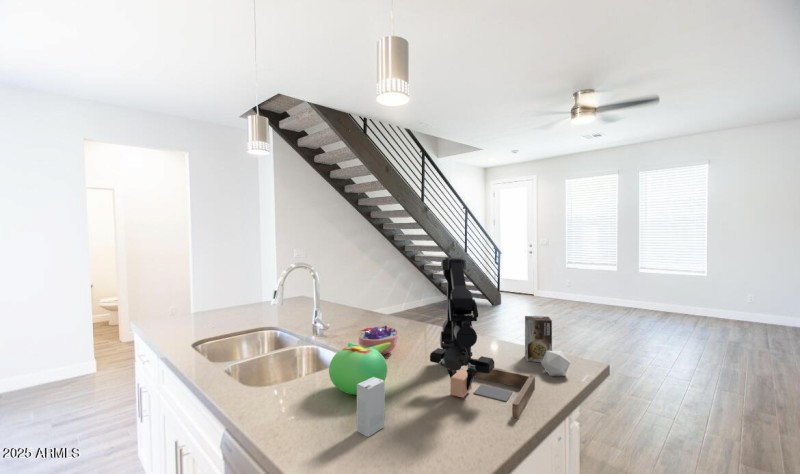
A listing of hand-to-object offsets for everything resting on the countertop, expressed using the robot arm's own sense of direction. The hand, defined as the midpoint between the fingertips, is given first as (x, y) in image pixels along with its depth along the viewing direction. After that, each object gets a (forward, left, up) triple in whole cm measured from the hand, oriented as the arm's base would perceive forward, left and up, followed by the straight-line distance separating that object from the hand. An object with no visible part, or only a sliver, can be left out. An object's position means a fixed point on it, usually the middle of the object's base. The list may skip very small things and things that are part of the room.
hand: (461, 388), depth 110 cm
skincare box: (-12, -30, -2) cm, 32 cm away
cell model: (-43, +18, -2) cm, 47 cm away
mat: (+8, +6, -2) cm, 10 cm away
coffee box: (+14, +44, -2) cm, 46 cm away
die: (+22, +32, -2) cm, 39 cm away
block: (0, 0, -1) cm, 1 cm away
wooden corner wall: (+7, +5, -2) cm, 9 cm away
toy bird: (-28, -14, -2) cm, 31 cm away
